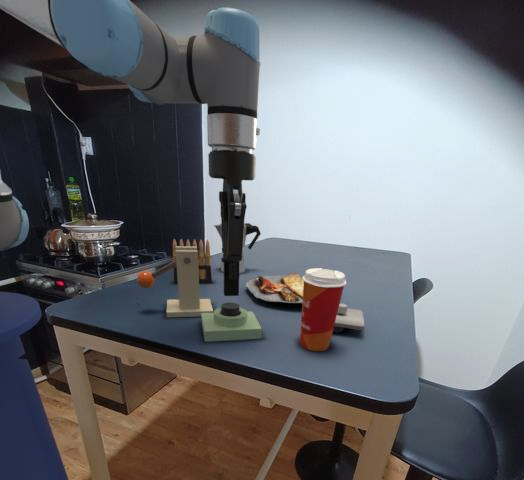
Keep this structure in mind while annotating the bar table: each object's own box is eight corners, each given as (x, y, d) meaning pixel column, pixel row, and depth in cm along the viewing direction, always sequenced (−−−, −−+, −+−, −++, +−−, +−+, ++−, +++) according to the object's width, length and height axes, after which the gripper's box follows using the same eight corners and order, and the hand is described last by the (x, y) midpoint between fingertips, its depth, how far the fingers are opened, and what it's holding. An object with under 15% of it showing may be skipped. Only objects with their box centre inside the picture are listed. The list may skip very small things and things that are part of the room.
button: (222, 317, 61) (222, 309, 60) (220, 310, 64) (220, 302, 63) (240, 317, 62) (241, 308, 61) (237, 310, 65) (238, 302, 64)
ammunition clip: (211, 281, 94) (210, 239, 88) (211, 283, 92) (211, 240, 87) (174, 281, 91) (170, 238, 86) (174, 283, 90) (170, 239, 84)
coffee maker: (213, 273, 101) (212, 212, 93) (214, 266, 109) (214, 209, 101) (259, 275, 103) (262, 215, 94) (257, 268, 111) (260, 212, 102)
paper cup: (300, 332, 66) (309, 265, 59) (337, 340, 64) (350, 271, 57) (289, 348, 59) (297, 274, 53) (330, 358, 57) (344, 282, 50)
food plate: (237, 282, 94) (237, 271, 92) (308, 280, 101) (309, 269, 99) (263, 314, 73) (264, 300, 72) (350, 308, 80) (352, 295, 79)
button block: (204, 341, 60) (204, 322, 58) (201, 322, 67) (200, 304, 65) (261, 338, 62) (262, 320, 60) (252, 320, 70) (252, 303, 68)
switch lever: (142, 293, 67) (132, 278, 65) (144, 288, 70) (134, 273, 68) (197, 263, 67) (188, 248, 65) (196, 259, 70) (187, 244, 68)
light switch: (360, 320, 73) (364, 300, 71) (362, 339, 65) (367, 316, 63) (317, 315, 75) (320, 294, 73) (314, 332, 67) (317, 309, 64)
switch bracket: (166, 317, 69) (160, 252, 62) (167, 304, 75) (162, 244, 69) (213, 315, 71) (212, 253, 64) (209, 303, 78) (208, 245, 71)
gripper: (265, 150, 45) (257, 306, 57) (247, 155, 56) (244, 284, 68) (212, 146, 44) (215, 307, 55) (205, 151, 55) (208, 284, 66)
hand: (231, 294), depth 61 cm, fingers closed
